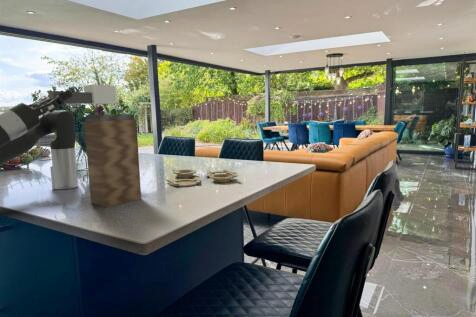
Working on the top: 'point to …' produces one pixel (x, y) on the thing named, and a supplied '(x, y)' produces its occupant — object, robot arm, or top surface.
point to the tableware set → (191, 182)
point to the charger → (90, 95)
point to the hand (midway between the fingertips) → (67, 93)
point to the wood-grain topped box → (112, 159)
